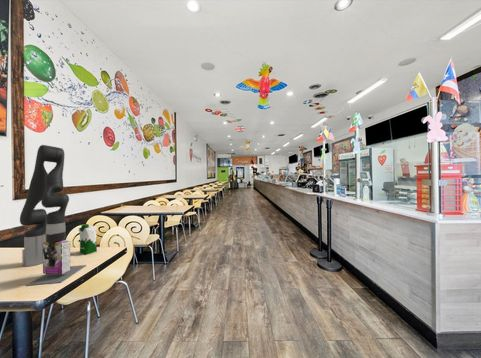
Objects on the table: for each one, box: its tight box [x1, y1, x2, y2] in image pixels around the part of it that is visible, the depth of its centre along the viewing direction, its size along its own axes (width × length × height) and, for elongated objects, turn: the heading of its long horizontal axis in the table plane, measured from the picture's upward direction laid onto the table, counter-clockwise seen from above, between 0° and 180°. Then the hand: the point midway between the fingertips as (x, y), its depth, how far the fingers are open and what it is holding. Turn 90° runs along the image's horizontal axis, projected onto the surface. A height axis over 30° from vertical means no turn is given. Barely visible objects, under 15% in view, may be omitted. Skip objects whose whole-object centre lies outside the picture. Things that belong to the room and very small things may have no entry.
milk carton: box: [78, 223, 98, 256], centre depth 139 cm, size 9×9×20 cm
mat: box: [25, 264, 87, 287], centre depth 105 cm, size 15×20×1 cm
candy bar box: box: [42, 239, 71, 275], centre depth 103 cm, size 11×5×16 cm, turn 85°
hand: (56, 263), depth 103 cm, fingers closed on candy bar box, 5 cm apart
